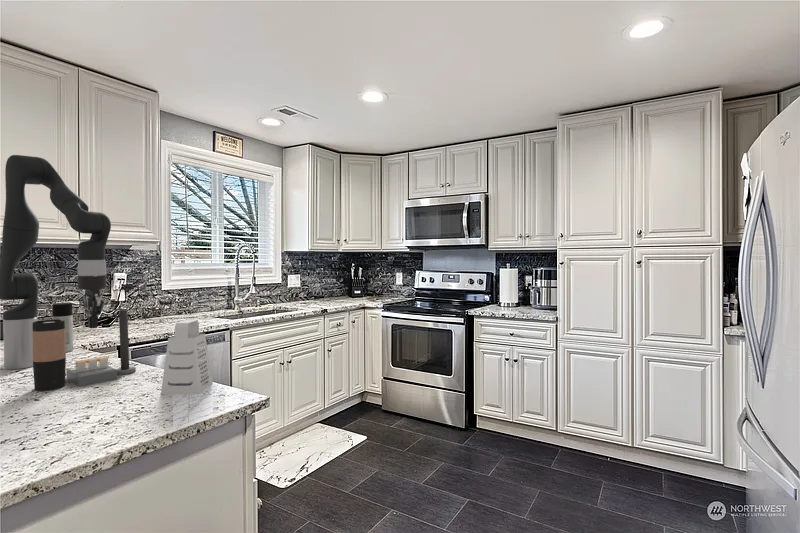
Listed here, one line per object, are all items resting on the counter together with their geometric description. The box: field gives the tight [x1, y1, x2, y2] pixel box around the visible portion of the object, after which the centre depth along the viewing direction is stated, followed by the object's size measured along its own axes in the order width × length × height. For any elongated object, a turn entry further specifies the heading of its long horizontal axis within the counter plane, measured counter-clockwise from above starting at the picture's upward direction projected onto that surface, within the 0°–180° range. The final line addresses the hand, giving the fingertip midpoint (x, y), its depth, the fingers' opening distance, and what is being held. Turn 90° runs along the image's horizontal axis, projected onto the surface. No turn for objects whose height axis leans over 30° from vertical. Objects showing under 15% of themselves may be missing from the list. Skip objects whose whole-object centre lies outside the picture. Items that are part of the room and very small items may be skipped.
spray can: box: [51, 302, 74, 353], centre depth 177 cm, size 7×7×20 cm
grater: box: [160, 319, 214, 395], centre depth 128 cm, size 10×10×20 cm
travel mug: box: [32, 319, 67, 392], centre depth 128 cm, size 8×8×20 cm
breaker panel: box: [66, 363, 118, 387], centre depth 138 cm, size 14×10×3 cm
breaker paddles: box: [75, 356, 109, 372], centre depth 137 cm, size 1×8×3 cm, turn 141°
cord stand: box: [115, 309, 136, 376], centre depth 145 cm, size 6×6×21 cm
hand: (93, 327), depth 138 cm, fingers closed
